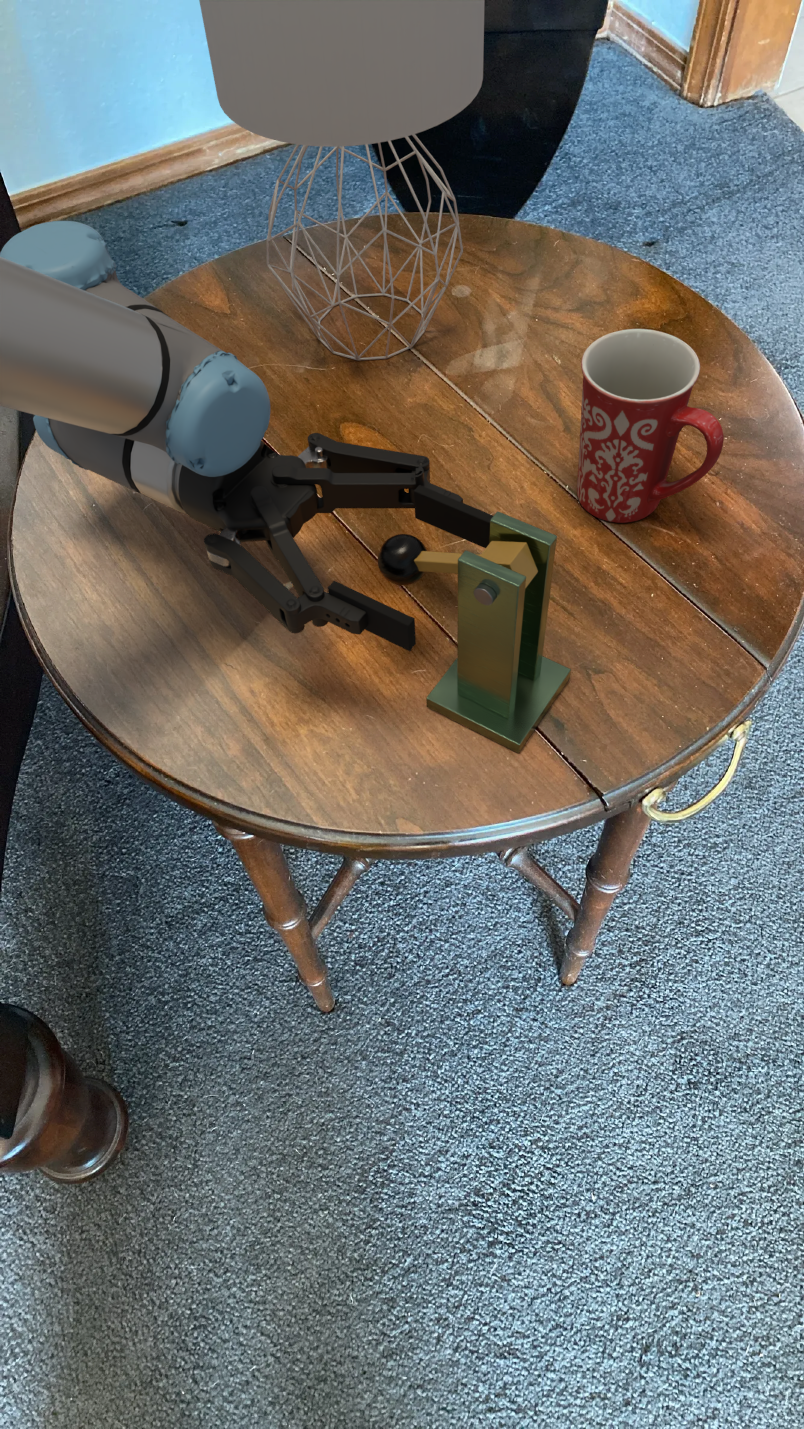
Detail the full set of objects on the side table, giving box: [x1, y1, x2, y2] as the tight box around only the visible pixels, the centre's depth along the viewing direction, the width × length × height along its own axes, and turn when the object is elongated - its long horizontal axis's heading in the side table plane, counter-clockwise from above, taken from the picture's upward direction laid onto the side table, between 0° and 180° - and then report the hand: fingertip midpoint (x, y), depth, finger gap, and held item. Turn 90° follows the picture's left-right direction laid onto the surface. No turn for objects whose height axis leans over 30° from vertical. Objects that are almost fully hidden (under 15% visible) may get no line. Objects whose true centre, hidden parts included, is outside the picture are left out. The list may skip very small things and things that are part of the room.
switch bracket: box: [425, 511, 572, 754], centre depth 68 cm, size 8×8×16 cm
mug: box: [576, 328, 725, 524], centre depth 79 cm, size 13×9×14 cm
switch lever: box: [377, 533, 538, 589], centre depth 66 cm, size 12×4×4 cm, turn 57°
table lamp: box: [198, 0, 485, 362], centre depth 84 cm, size 22×22×40 cm
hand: (454, 582), depth 67 cm, fingers open, 10 cm apart
